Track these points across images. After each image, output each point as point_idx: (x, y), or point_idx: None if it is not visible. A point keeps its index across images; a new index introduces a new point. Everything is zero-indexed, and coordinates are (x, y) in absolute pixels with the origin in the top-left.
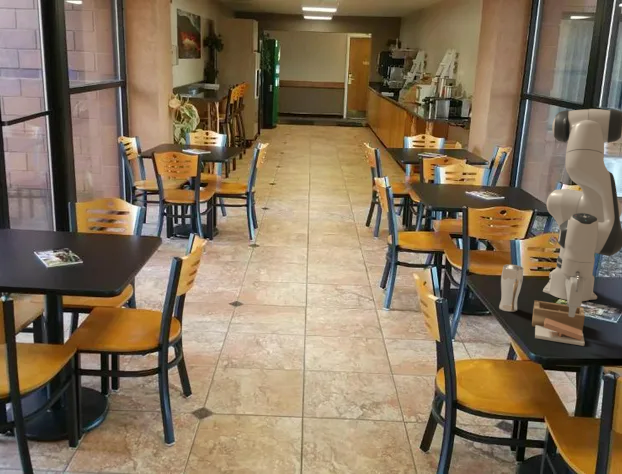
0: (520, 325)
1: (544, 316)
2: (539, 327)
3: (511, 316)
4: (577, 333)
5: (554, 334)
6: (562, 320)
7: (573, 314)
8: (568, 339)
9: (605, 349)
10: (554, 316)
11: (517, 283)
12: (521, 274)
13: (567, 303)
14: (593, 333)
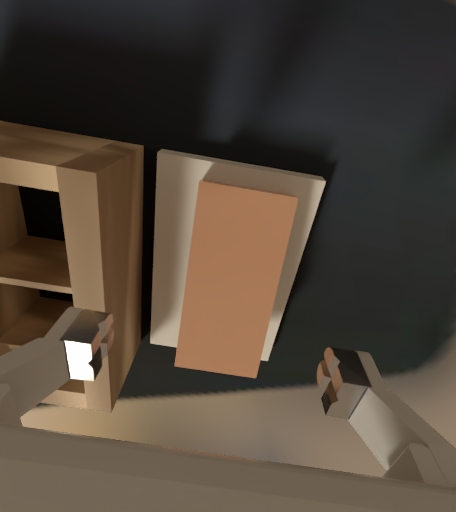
0: (148, 371)
1: (121, 349)
2: (174, 335)
3: None
4: (276, 223)
5: None
6: (123, 274)
7: (371, 374)
8: (292, 252)
9: (360, 48)
10: (117, 320)
11: None
12: None
13: (100, 363)
14: (95, 61)
